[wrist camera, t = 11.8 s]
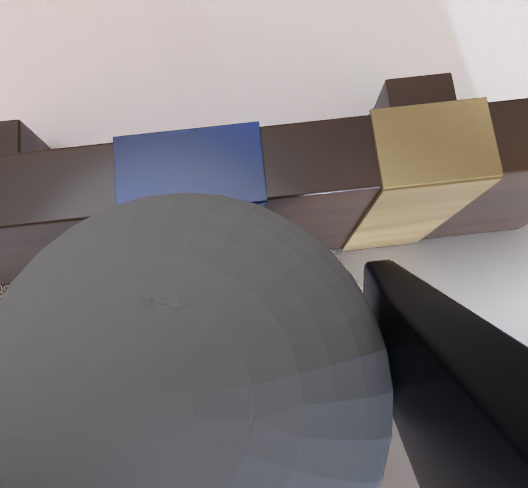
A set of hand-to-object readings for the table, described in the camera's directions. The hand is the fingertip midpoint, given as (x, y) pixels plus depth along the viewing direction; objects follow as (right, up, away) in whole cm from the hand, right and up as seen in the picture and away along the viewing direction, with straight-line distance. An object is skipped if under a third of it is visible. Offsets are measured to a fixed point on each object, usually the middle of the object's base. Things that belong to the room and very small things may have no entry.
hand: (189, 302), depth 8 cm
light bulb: (0, -3, +6) cm, 7 cm away
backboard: (0, +3, +8) cm, 8 cm away
